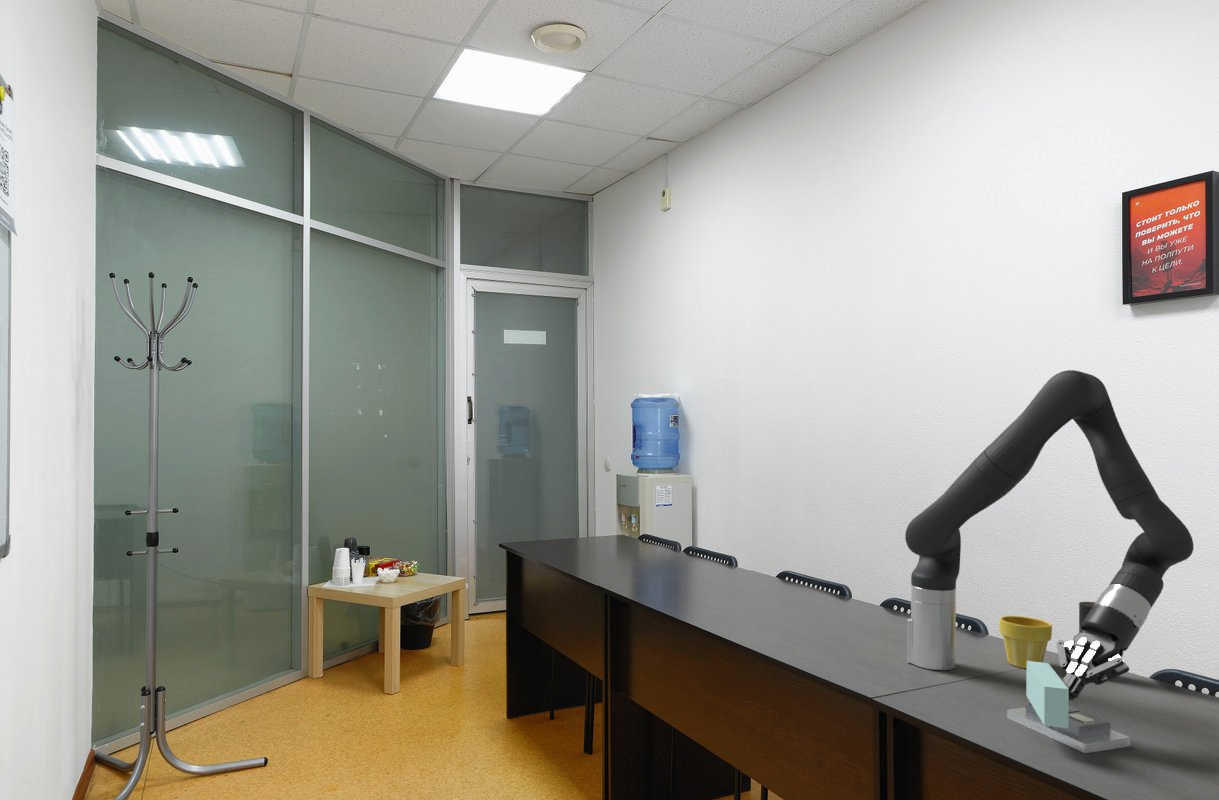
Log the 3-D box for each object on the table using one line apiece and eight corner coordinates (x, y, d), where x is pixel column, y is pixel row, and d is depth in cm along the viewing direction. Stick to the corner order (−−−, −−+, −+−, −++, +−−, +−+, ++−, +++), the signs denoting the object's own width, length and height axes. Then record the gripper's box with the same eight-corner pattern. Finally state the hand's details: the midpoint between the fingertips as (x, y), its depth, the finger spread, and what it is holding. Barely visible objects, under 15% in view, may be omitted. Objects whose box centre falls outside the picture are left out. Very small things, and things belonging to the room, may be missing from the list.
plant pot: (1043, 660, 181) (1043, 617, 182) (1058, 673, 171) (1058, 628, 172) (994, 656, 184) (994, 613, 184) (1005, 669, 174) (1006, 624, 174)
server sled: (1007, 717, 145) (1007, 697, 145) (1049, 712, 148) (1049, 692, 148) (1084, 753, 129) (1084, 730, 130) (1130, 746, 133) (1130, 724, 133)
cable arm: (1023, 691, 146) (1024, 657, 147) (1045, 694, 145) (1045, 659, 146) (1044, 725, 130) (1044, 686, 130) (1068, 728, 129) (1068, 689, 129)
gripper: (1071, 595, 145) (1020, 670, 140) (1141, 611, 132) (1088, 695, 128) (1093, 622, 146) (1044, 697, 142) (1164, 640, 134) (1113, 723, 129)
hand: (1065, 696), depth 135 cm, fingers closed
